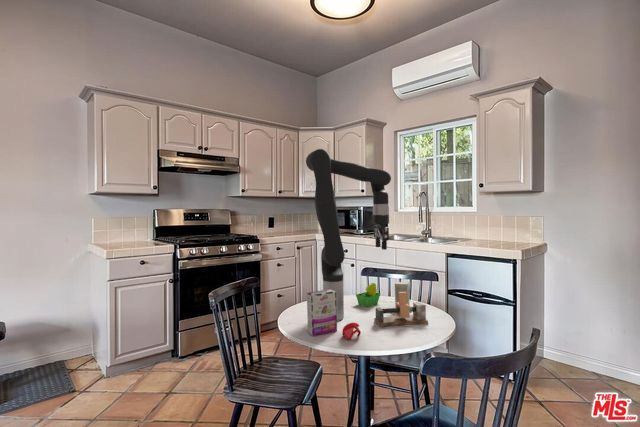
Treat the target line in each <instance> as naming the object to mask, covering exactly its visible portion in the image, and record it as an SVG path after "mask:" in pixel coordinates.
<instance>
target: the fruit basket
mask: <svg viewBox="0 0 640 427" xmlns="http://www.w3.org/2000/svg"><path fill="white" fill-rule="evenodd" d="M380 296H381V293H379V292H378V289H377V284H376V283H374V282H372V283H371V284H369V285H368V286H366V288H365V292H361V293H356V294H355V297H356V300H357V303H358V305H359V306H361V307H369V306H373V305H377V304H378V303H379V300H380Z"/></svg>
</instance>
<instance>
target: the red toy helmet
mask: <svg viewBox="0 0 640 427" xmlns="http://www.w3.org/2000/svg"><path fill="white" fill-rule="evenodd" d="M359 327H360V324H359V323H357V322H348V323H346V324H345V325H344V326H343V328H342V334H341V335H342V336H344V337H345V338H346V339H347V340H349V341H352V337H353V336H354V335H355V334H356V333H357V334H356V337H357V338H360V335H361V333H362V332H361V330H360V328H359Z"/></svg>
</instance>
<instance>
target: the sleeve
mask: <svg viewBox="0 0 640 427" xmlns="http://www.w3.org/2000/svg"><path fill="white" fill-rule="evenodd" d="M410 306H411V305H410V304H409V305H408V304H407V302H406V292H399V302H396V308H400V313H395V315H396V316H399V317H400V318H410V315H411V313H410Z"/></svg>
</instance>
